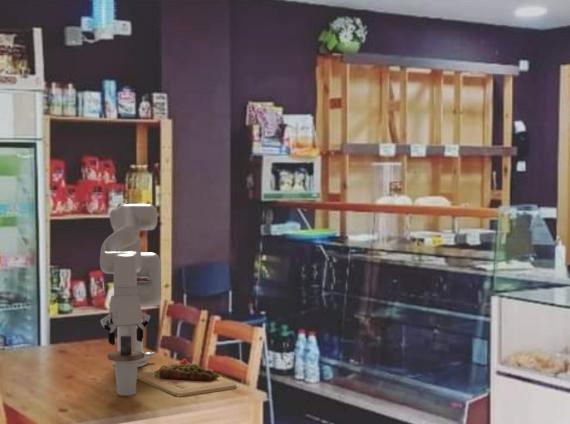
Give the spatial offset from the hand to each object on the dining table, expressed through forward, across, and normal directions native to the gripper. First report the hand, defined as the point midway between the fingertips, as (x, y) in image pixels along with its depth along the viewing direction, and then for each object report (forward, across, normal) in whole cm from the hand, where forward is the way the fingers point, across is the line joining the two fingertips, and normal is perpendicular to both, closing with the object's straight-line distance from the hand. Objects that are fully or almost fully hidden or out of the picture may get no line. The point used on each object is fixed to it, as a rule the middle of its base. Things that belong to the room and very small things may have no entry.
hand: (125, 342), depth 306 cm
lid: (+5, 0, 0) cm, 5 cm away
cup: (+17, 0, 0) cm, 17 cm away
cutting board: (+18, -23, -3) cm, 29 cm away
